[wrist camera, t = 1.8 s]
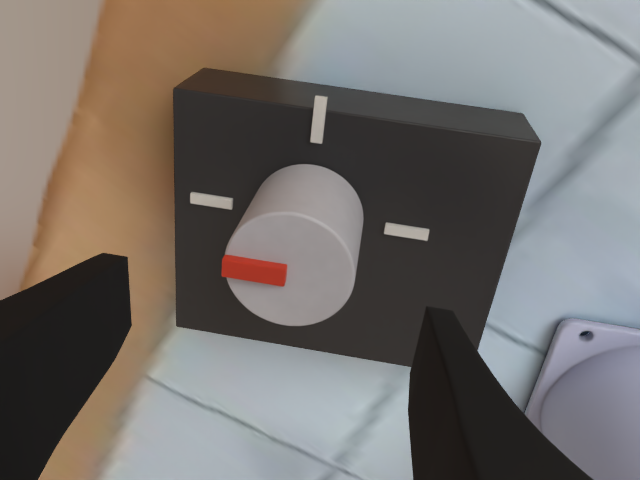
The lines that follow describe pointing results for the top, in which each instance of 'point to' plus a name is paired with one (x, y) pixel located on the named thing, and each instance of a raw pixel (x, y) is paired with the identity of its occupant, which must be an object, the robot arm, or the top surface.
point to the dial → (296, 246)
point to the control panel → (375, 196)
